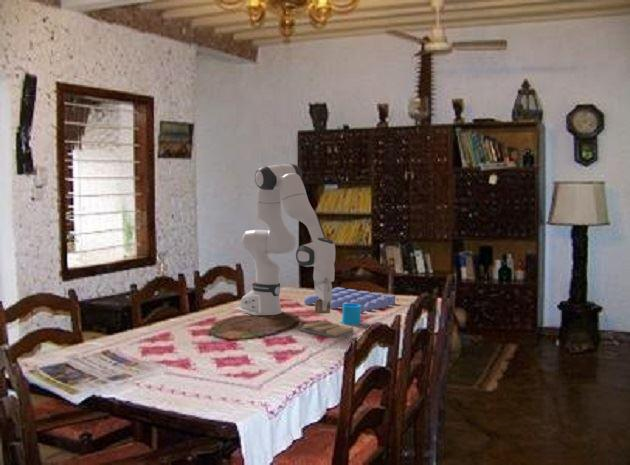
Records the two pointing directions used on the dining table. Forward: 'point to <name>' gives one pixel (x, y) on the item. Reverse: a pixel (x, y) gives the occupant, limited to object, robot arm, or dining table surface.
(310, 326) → the tan flat slab
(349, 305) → the mug
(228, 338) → the dining table surface
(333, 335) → the underlay
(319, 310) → the block
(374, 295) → the blue flat bumpy slab
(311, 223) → the robot arm
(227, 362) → the dining table surface
